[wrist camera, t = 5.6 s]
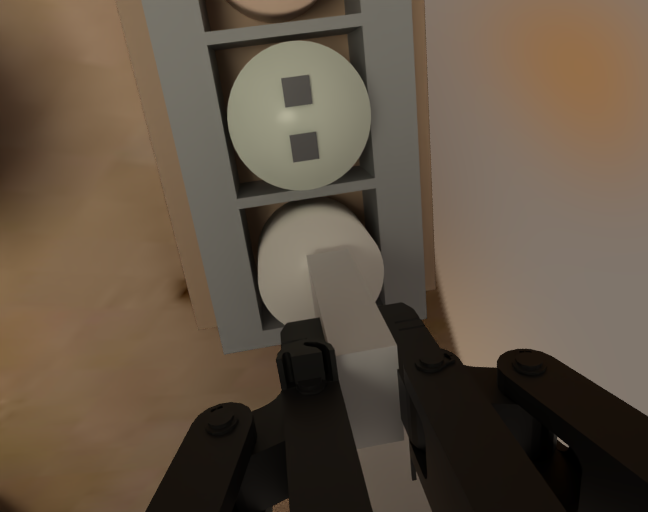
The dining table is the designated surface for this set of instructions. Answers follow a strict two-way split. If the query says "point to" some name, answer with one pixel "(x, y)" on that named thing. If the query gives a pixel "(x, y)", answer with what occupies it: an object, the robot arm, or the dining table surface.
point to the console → (251, 191)
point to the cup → (392, 478)
